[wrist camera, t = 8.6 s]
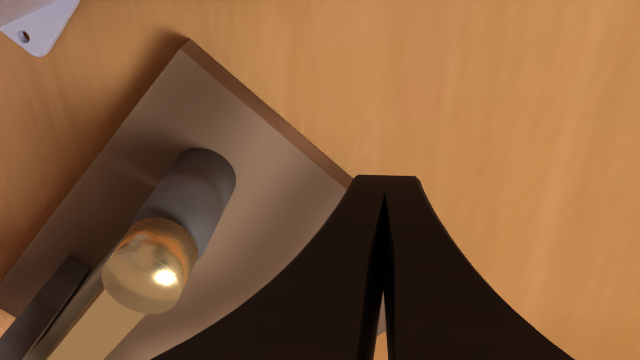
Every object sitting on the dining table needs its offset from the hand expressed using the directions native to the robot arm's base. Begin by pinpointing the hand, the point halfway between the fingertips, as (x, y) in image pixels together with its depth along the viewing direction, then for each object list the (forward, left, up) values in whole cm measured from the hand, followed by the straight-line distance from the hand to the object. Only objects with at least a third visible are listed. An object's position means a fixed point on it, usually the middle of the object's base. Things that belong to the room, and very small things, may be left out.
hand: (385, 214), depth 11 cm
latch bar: (-2, -15, -4) cm, 15 cm away
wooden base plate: (+2, -15, -10) cm, 18 cm away
